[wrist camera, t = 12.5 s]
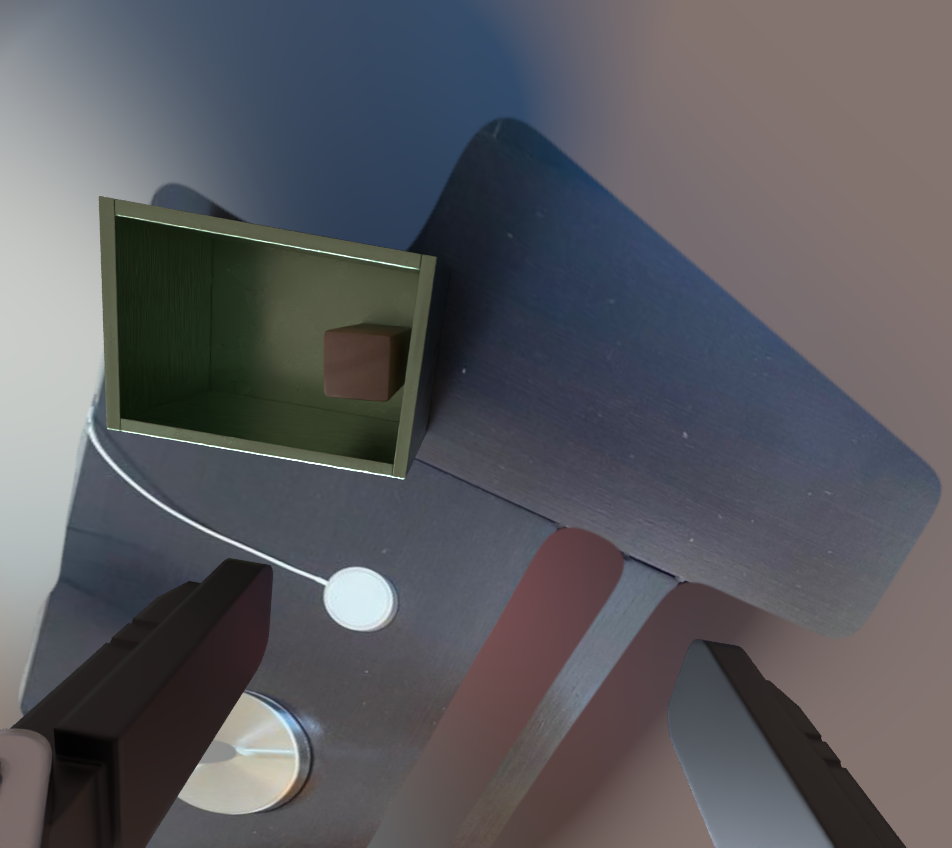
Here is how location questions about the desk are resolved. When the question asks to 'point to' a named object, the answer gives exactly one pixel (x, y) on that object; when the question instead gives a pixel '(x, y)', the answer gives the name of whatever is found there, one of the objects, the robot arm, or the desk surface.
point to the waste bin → (259, 336)
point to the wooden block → (365, 361)
